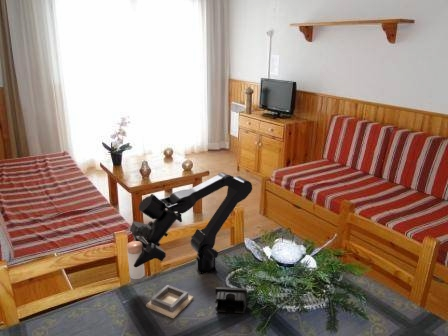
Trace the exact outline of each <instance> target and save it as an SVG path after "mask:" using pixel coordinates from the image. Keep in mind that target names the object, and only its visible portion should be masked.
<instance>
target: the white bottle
mask: <svg viewBox="0 0 448 336" xmlns="http://www.w3.org/2000/svg"><path fill="white" fill-rule="evenodd" d="M142 247H143V245H142V242H140V241H130V242H128V243H127V245H126V248H127V249H126V250H127V258H128V259H127V260H128V261H127V262H128V270H129V271H128V272H129V279H130V282H131V283H133V284H139V283H142V282H143V281H145V280H146V271H145V263H144V264H142V265H140V266H138V267H134V264H135V262H136V260H137V259H138V257H139V256H140V254H141V253H142Z"/></svg>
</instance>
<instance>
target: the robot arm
mask: <svg viewBox="0 0 448 336" xmlns="http://www.w3.org/2000/svg"><path fill="white" fill-rule="evenodd" d="M224 187H227V189H226V190H227V192H226V196H225V197H224V199H223V201H222V202H221V203H220V205H219V206H218V208H217V209H216V211H215V212H214V214H213V215H212V216H211V218H210V219H209V221H208V223H207V224H206V226H205V227H204V228H202V229H200V228H197V229H196V230H195V232H194V233H193V235H191V239H190V246H191V248H192V249H193V250H194V251H195V252H196V256H197V257H196V258H195V267H196V270H197V271H198V272H199V274H200V275H205V274H210V273H215V272H217V271H218V268H217V267H216V259H218V256H219V251H217V250H216V248H214V247H215V244H216V237H217V235H218V233H219V232H220V230H221V228H222V227H223V225H224V224H225V223H226V221H227V219H229V216H230V215H231V214H232V213H233V211H234V209H235V208H236V206H237V205H238V204H239V203H240V202H242V201H244V200H245V199H246V198H247V197H248V196H250V194H251V192H252V191H253V184H252V182H251V181H250V180H247V179H246V178H243V177H242V176H239V175H237V176H233V175H230V174H226V172H218V174H216V175H215V176H213V177H211V178H209V179H207V180H205V181H203V182H201V183H199V184H198V185H197V184H196V185H195V186H194V187H192V188H189V189H188V188H187V189H181V190H178V191H175V192H173V193H171V194H170V195H167V196H166V197H163V198H158V197H157V196H156V195H155V194H154V193H151V194H150V195H148V196H146V197H144V198H143V199H142V200H141V201H140V203H139V205H138V210H139V212H140V213H142V214H144V215H146V216H147V217H148V218H150V219H152V220H153V221H152V220H150V221H149V222H148V223H143V222H138V221H132V223H131V227H130V228H129V232H130V233H131V234H132V236H133V240H134V241H140V242H142V245H143V247H142V253H141V254H140V256H139V257H138V259H137V260H136V262H135V264H134V267H138V266H140V265H142V264H144V265H145V263H148V262H149V261H153V260H155V259H156V260H158V261H160V262H163V261H164V260H165V259H166V256H167V254H166V252H165V250H164V249H163V248H162V247H161V243H160V242H161V240H162V239H163V238H164V237H168V236H169V234H168V231H169V230H170V229H171V228H172V226H173V225H174V223H175V222H176V221H177V222H179V223H182V222H183V218H182V214H184V213H186V212H188V211H189V210H190V209H192V208H193V207H194V206H195V205H196V203H197V202H198V201H200V200H202V199H204V198H205V197H208V196H209V195H211V194H213V193H215V192H217V191H218V190H221V189H222V188H224Z"/></svg>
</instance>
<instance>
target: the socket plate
mask: <svg viewBox="0 0 448 336" xmlns="http://www.w3.org/2000/svg"><path fill="white" fill-rule="evenodd" d="M193 300H194V295H190V294H189V292H188V291H185V290H183V289H180V288H177V287H175V286H172V285H169V284H166V285H165V286H164V287H163V288H162V289H160V290H159V291H158V292H157V293H155V294H154V295H153V296H152V297H151V298H150V301H148V302H147V303H146V304H145V307H146V308H148V309H151V310H153V311H155V312H157V313H159V314H162V315H164V316H166V317H169V318H171V319H175V318H176V317H177V316H178V315H179V314H180V313H181V312H182V311H183V309H185V308H186V306H188V305H189V304H190V303H191V302H192V301H193Z"/></svg>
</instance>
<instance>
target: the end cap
mask: <svg viewBox="0 0 448 336" xmlns="http://www.w3.org/2000/svg"><path fill="white" fill-rule="evenodd" d="M214 292H215V300H214V302H215V304H214V305H215V306H214V308H215V315H218V316H231V317H232V316H234V317H244V316H245V314H246V312H245V311H246V309H247V308H246V307H247V304H248V303H247V302H248V301H247V299H248V289H247V288H246V287H245V288H244V287H242V288H241V287H227V286H226V287H225V286H216V287H215V291H214Z"/></svg>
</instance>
